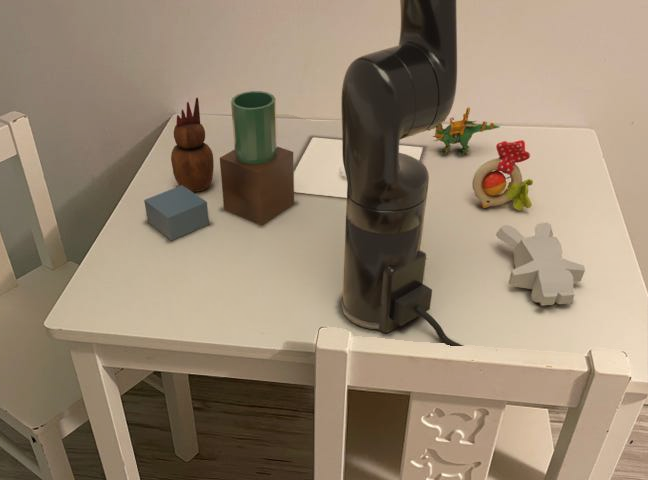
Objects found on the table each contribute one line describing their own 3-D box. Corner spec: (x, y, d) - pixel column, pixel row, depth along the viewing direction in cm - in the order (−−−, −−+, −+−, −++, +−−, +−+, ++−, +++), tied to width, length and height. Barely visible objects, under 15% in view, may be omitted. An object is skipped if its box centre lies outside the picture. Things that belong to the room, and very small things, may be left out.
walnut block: (294, 203, 118) (293, 151, 112) (262, 225, 113) (259, 172, 107) (256, 189, 122) (253, 138, 116) (223, 209, 118) (219, 157, 111)
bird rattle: (487, 229, 113) (547, 206, 111) (467, 170, 107) (530, 144, 104) (478, 209, 118) (536, 186, 115) (459, 150, 111) (519, 125, 109)
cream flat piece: (335, 182, 122) (336, 160, 119) (345, 160, 128) (346, 138, 125) (388, 188, 120) (390, 165, 117) (396, 165, 125) (398, 143, 123)
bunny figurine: (525, 289, 92) (493, 214, 102) (516, 317, 96) (486, 243, 106) (600, 283, 92) (561, 209, 102) (588, 312, 96) (551, 238, 106)
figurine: (423, 149, 129) (429, 103, 124) (493, 148, 128) (502, 103, 123) (425, 157, 127) (430, 111, 122) (496, 156, 126) (505, 110, 121)
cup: (285, 155, 111) (284, 100, 105) (252, 168, 108) (248, 112, 103) (260, 141, 115) (257, 87, 109) (227, 154, 112) (222, 99, 106)
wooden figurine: (217, 178, 125) (209, 91, 115) (213, 195, 121) (204, 107, 111) (178, 178, 126) (167, 92, 116) (172, 195, 122) (160, 107, 112)
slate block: (209, 224, 114) (207, 201, 112) (171, 240, 111) (167, 217, 109) (184, 207, 119) (182, 184, 116) (147, 222, 116) (143, 199, 113)
